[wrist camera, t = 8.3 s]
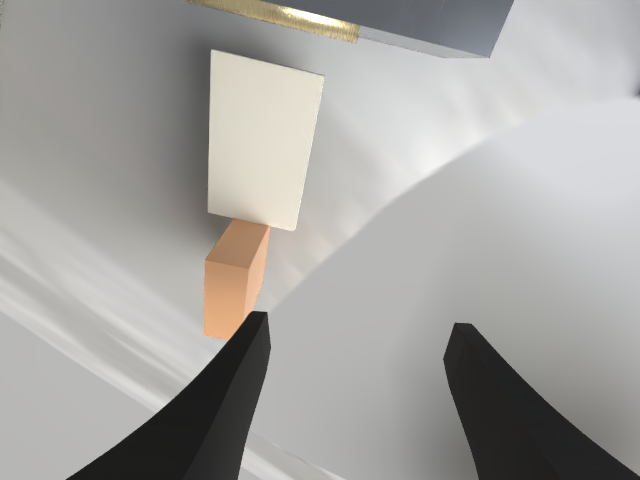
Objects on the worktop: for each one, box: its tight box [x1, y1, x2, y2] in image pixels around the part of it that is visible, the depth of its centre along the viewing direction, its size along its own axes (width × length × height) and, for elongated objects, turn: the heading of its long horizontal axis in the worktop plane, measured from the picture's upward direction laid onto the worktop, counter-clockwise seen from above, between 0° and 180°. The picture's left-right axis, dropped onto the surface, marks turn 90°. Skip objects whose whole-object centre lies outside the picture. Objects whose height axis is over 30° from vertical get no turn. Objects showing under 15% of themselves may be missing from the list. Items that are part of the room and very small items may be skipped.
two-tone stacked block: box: [204, 49, 325, 340], centre depth 15 cm, size 5×13×5 cm, turn 168°
